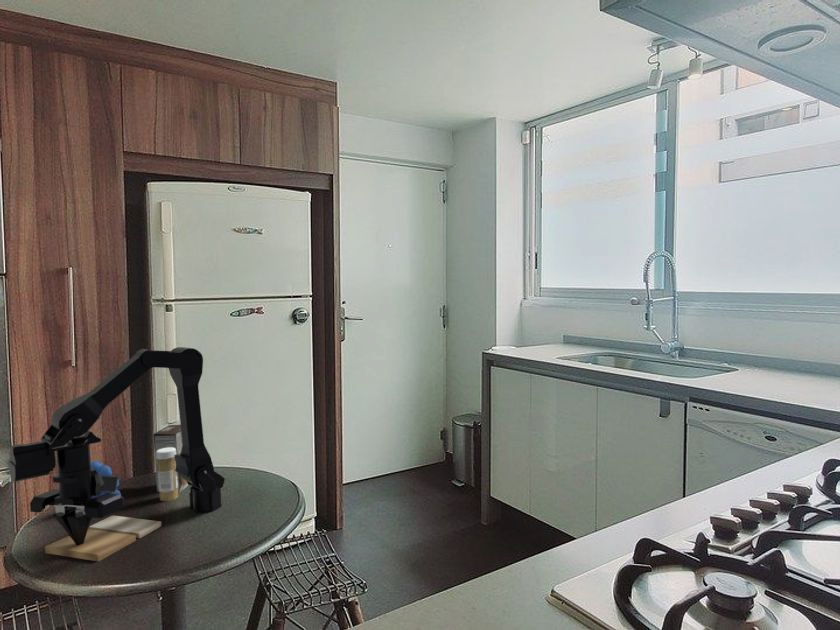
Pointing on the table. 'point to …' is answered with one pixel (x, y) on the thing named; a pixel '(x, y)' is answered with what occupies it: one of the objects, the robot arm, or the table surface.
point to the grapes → (104, 471)
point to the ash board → (127, 525)
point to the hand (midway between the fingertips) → (80, 544)
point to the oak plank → (91, 545)
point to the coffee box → (166, 439)
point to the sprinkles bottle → (167, 474)
